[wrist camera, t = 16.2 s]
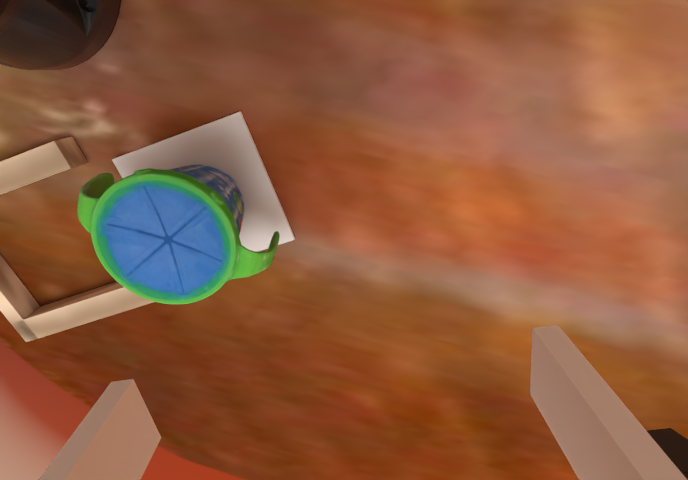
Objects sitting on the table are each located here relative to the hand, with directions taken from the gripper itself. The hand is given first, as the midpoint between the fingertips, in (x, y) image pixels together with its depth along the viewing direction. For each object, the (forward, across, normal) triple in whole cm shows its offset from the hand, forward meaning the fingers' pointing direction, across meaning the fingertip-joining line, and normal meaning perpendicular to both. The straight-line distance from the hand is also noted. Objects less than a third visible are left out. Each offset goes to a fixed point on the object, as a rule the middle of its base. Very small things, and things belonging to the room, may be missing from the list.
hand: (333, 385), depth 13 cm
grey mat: (+27, -13, 0) cm, 30 cm away
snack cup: (+26, -13, 0) cm, 30 cm away
